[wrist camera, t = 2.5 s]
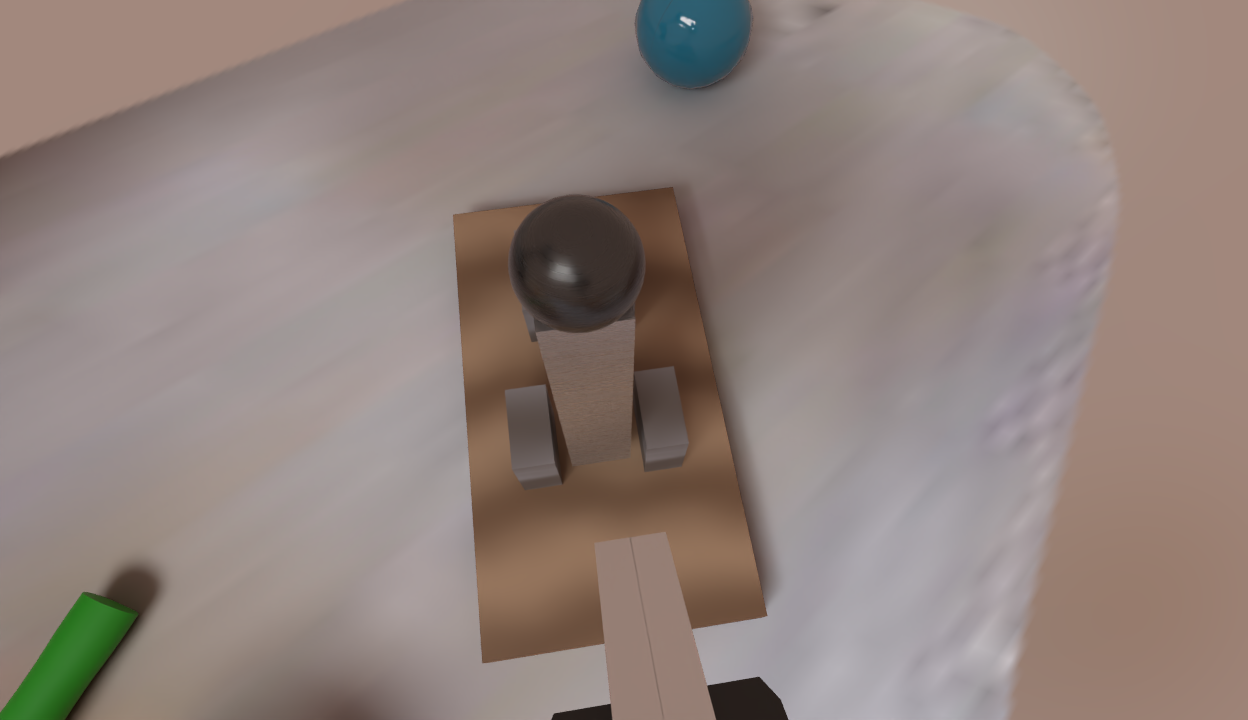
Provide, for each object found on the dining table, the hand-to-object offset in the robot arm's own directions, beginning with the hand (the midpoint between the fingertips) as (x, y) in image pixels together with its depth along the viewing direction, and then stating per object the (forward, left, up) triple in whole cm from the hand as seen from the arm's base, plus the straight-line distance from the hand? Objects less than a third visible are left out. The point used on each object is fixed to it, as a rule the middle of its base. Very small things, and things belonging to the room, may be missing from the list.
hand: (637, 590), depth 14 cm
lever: (-8, +5, -18) cm, 20 cm away
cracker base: (-10, +7, -23) cm, 26 cm away
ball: (-25, +29, -23) cm, 44 cm away
